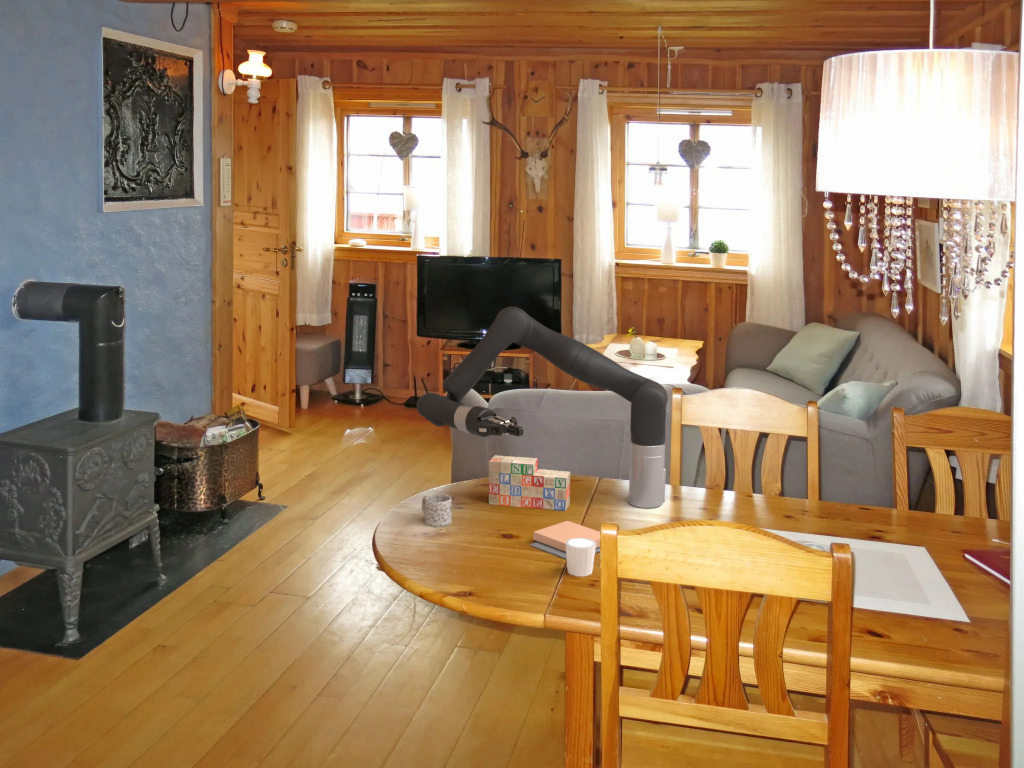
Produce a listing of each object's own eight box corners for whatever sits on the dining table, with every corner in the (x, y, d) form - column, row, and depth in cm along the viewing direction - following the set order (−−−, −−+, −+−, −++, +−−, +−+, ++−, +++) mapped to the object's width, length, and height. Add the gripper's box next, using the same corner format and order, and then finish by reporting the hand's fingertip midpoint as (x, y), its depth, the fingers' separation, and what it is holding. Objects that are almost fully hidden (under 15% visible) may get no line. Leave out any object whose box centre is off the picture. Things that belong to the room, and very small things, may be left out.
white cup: (593, 566, 237) (594, 537, 235) (596, 577, 230) (597, 548, 229) (563, 566, 237) (564, 537, 235) (566, 577, 230) (566, 548, 228)
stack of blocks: (570, 504, 280) (571, 460, 277) (565, 511, 274) (566, 467, 272) (494, 497, 285) (494, 454, 283) (488, 504, 279) (488, 460, 277)
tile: (567, 520, 258) (609, 535, 249) (567, 529, 259) (609, 544, 249) (533, 531, 250) (575, 547, 240) (533, 541, 251) (575, 557, 241)
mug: (456, 523, 264) (456, 498, 262) (435, 529, 259) (435, 504, 258) (433, 513, 271) (433, 489, 270) (412, 518, 267) (412, 494, 265)
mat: (575, 530, 260) (575, 528, 260) (618, 545, 250) (618, 543, 250) (530, 545, 249) (530, 544, 249) (572, 562, 239) (572, 560, 239)
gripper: (455, 410, 265) (502, 421, 252) (493, 402, 274) (540, 413, 261) (456, 438, 266) (502, 451, 254) (493, 429, 275) (540, 441, 263)
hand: (521, 432), depth 258 cm, fingers closed
